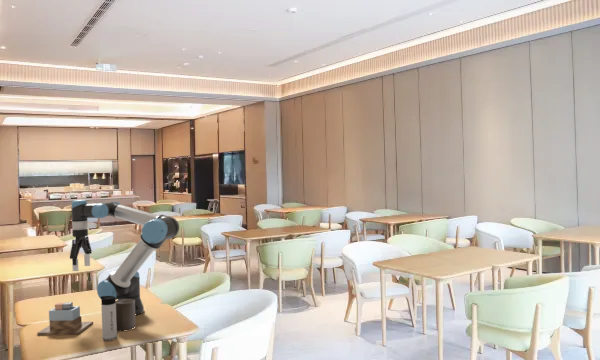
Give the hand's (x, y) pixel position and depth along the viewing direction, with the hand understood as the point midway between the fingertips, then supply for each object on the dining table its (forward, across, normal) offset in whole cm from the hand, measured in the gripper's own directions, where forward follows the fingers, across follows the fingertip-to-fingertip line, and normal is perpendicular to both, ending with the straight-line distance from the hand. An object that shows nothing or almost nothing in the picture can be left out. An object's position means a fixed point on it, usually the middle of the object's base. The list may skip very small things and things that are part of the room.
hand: (81, 268), depth 263 cm
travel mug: (+27, +34, +28) cm, 52 cm away
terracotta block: (+17, +19, -2) cm, 26 cm away
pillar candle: (+27, +19, +30) cm, 45 cm away
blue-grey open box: (+21, +19, 0) cm, 28 cm away
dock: (+27, +19, 0) cm, 33 cm away
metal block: (+17, +19, +1) cm, 25 cm away
